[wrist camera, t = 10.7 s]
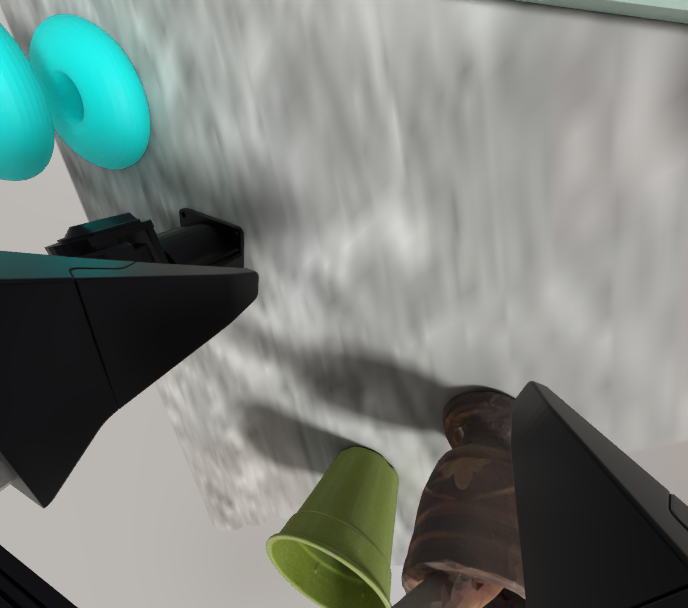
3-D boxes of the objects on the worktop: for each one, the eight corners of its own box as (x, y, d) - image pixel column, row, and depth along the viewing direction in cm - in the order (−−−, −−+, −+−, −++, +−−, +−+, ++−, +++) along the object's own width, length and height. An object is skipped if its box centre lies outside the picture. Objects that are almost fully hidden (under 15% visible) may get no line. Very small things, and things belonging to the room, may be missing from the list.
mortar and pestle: (391, 415, 30) (278, 749, 14) (419, 349, 25) (296, 739, 9) (516, 472, 27) (553, 964, 11) (572, 410, 23) (775, 1102, 7)
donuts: (-168, -14, 17) (-85, -61, 13) (44, 31, 25) (130, 9, 21) (-49, 182, 22) (34, 185, 18) (97, 167, 30) (174, 167, 26)
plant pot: (397, 428, 31) (358, 555, 21) (434, 508, 34) (413, 646, 25) (304, 428, 37) (242, 527, 27) (343, 496, 40) (300, 604, 31)
